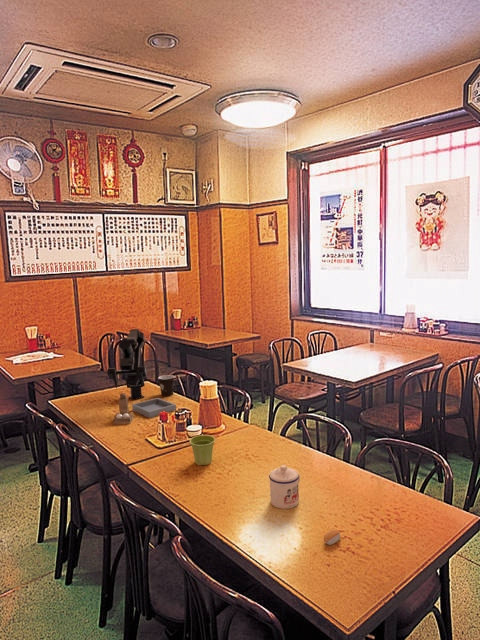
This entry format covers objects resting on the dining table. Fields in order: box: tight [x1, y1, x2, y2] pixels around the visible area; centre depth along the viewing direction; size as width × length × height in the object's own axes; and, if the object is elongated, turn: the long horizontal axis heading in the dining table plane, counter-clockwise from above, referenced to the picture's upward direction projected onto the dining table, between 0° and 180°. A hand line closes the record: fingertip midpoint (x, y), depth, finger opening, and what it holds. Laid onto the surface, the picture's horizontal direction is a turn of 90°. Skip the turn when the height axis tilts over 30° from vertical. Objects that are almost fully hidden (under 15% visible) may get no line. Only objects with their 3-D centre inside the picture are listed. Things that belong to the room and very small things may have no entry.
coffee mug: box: [157, 374, 178, 397], centre depth 265 cm, size 12×9×10 cm
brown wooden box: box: [112, 392, 134, 426], centre depth 227 cm, size 9×8×12 cm
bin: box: [131, 397, 177, 419], centre depth 241 cm, size 17×15×3 cm
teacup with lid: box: [268, 464, 301, 510], centre depth 149 cm, size 12×9×12 cm
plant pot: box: [189, 434, 216, 466], centre depth 179 cm, size 9×9×9 cm
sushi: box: [323, 528, 341, 546], centre depth 128 cm, size 3×6×3 cm, turn 132°
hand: (125, 387), depth 237 cm, fingers open, 9 cm apart
